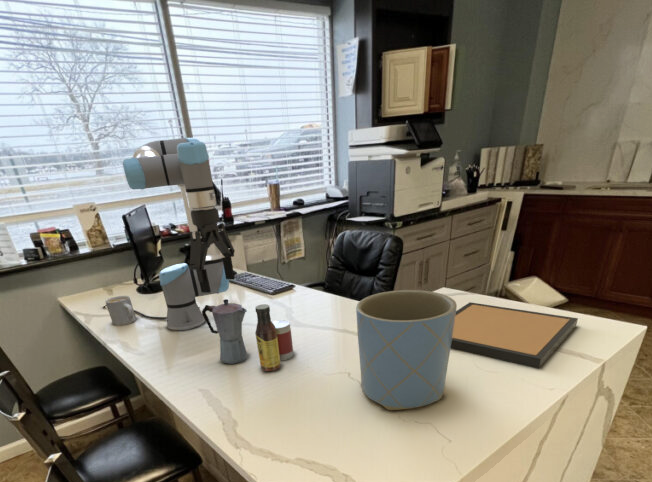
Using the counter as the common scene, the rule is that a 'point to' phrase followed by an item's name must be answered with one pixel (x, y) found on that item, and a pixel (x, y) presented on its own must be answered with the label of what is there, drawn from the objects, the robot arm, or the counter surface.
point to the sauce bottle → (267, 339)
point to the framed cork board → (509, 333)
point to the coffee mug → (120, 310)
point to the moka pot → (228, 330)
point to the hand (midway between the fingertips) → (218, 285)
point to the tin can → (284, 339)
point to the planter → (405, 346)
